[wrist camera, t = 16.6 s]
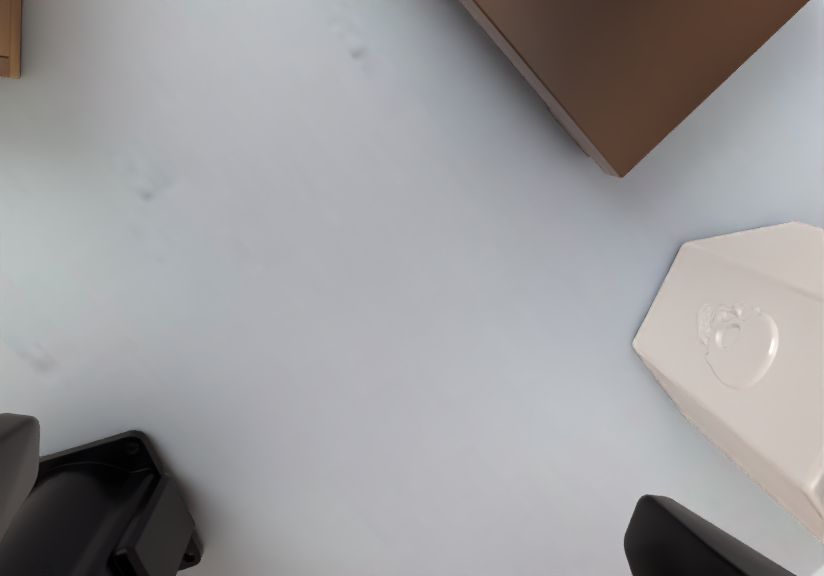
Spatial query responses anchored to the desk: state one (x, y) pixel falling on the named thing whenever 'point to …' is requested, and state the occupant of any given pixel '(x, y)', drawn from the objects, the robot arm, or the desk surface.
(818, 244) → the jar
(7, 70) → the tray
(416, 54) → the desk surface
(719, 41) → the wooden block
